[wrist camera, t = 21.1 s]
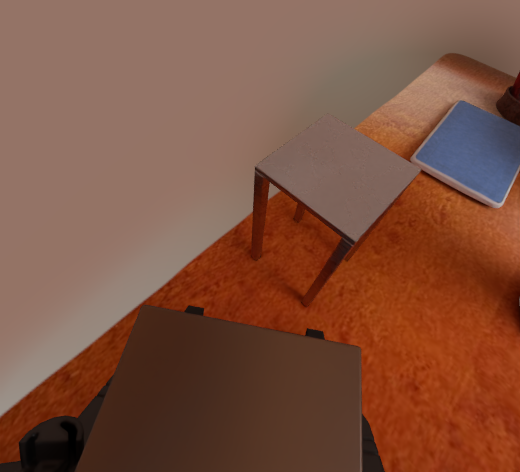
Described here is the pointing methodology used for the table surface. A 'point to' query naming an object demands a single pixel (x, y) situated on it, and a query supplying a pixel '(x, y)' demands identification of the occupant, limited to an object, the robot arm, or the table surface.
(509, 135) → the tablet
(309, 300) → the square metal stool
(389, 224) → the table surface
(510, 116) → the figurine
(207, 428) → the block
